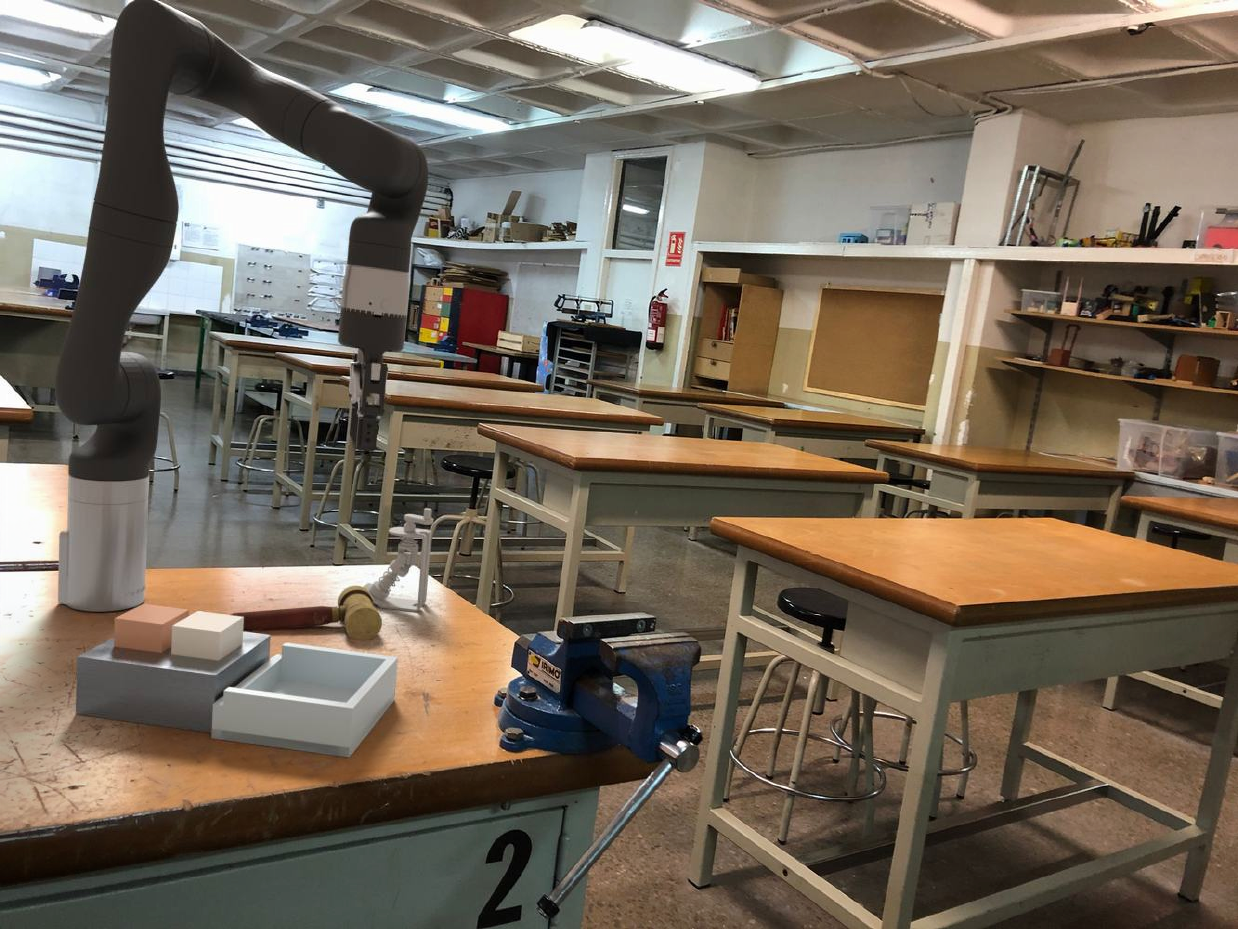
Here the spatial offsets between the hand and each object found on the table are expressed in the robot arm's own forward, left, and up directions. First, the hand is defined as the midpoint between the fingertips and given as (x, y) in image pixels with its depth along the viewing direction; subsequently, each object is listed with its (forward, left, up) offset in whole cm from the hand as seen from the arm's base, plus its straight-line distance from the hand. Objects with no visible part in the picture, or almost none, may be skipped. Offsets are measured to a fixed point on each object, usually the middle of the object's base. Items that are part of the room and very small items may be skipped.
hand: (361, 444), depth 110 cm
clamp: (0, +20, -27) cm, 34 cm away
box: (+3, -19, -26) cm, 32 cm away
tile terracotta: (-14, -19, -20) cm, 31 cm away
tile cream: (-8, -19, -20) cm, 29 cm away
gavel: (-10, +6, -27) cm, 29 cm away
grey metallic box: (-11, -19, -26) cm, 34 cm away
